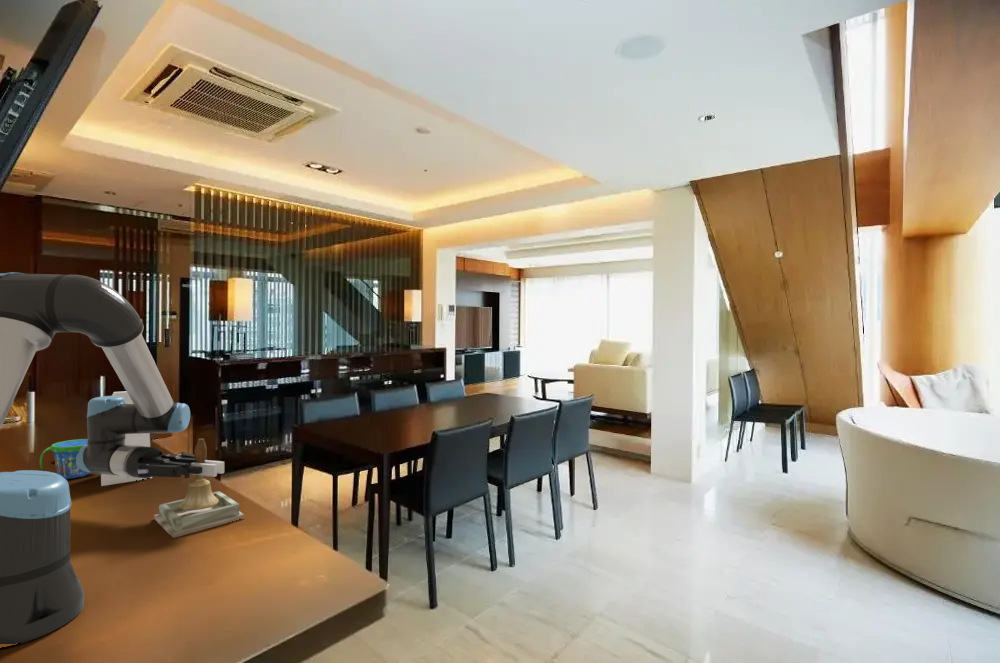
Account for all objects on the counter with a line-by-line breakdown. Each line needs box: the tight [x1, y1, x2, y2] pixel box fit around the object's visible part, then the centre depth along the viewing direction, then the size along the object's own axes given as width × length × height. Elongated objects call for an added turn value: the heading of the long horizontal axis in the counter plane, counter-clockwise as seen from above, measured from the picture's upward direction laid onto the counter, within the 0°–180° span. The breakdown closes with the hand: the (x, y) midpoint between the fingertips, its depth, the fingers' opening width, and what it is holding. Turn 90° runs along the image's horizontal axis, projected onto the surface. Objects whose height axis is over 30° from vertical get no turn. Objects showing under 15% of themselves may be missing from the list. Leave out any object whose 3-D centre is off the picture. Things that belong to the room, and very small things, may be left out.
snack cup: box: [39, 438, 91, 480], centre depth 151 cm, size 16×10×10 cm
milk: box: [100, 390, 153, 487], centre depth 150 cm, size 12×12×26 cm
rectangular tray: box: [153, 490, 245, 539], centre depth 121 cm, size 15×15×4 cm
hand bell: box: [179, 437, 219, 510], centre depth 121 cm, size 8×8×16 cm
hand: (219, 469), depth 119 cm, fingers closed on hand bell, 2 cm apart
